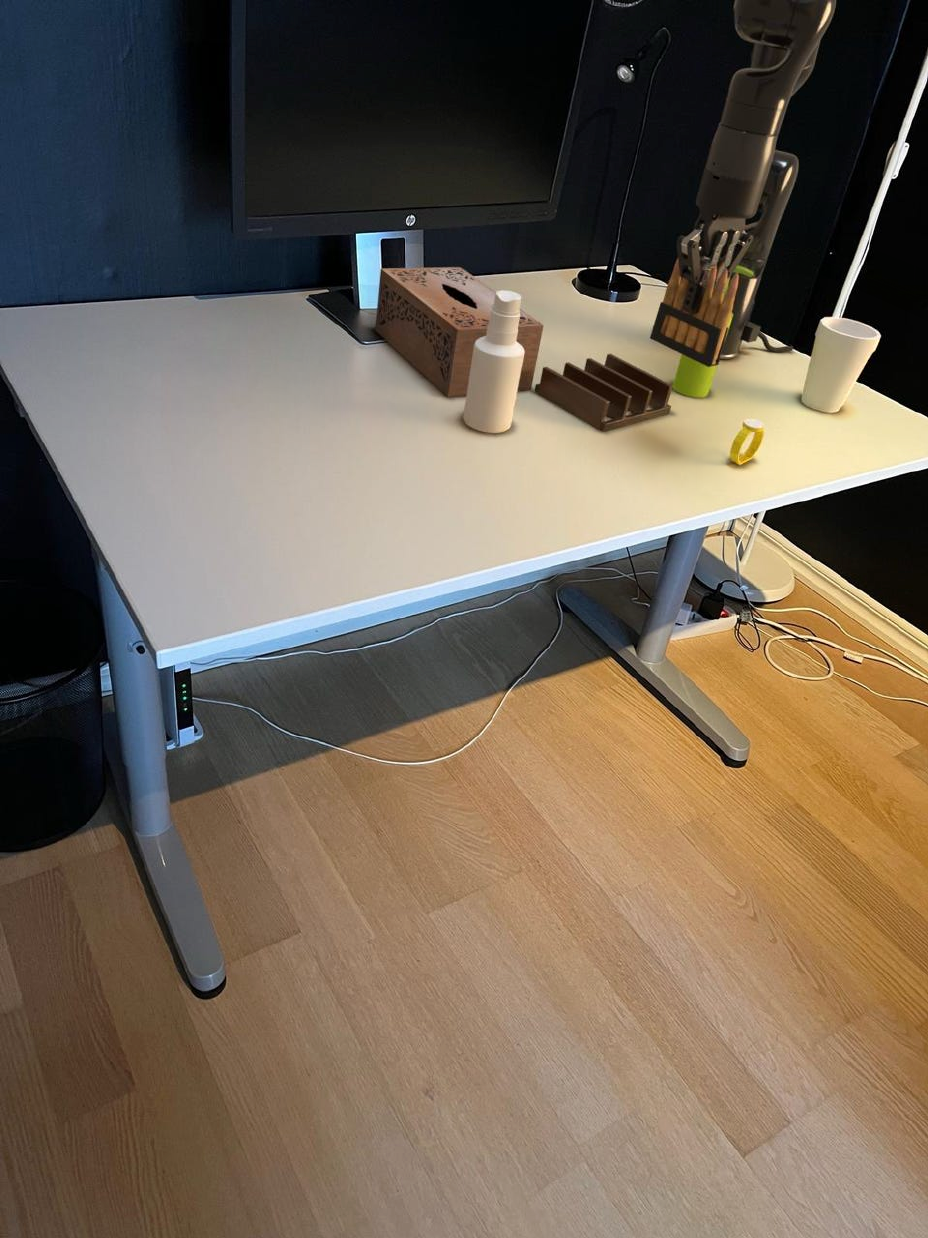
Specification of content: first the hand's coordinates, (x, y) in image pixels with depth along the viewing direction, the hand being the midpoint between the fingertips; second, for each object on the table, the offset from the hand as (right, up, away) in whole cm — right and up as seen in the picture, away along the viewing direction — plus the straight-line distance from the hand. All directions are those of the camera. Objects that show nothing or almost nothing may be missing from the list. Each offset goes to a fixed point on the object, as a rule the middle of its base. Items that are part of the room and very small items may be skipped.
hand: (695, 310), depth 123 cm
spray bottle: (-27, -13, +8) cm, 31 cm away
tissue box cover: (-33, 0, +25) cm, 41 cm away
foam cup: (+29, -5, +32) cm, 43 cm away
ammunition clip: (-1, -5, +3) cm, 6 cm away
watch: (+9, -18, +10) cm, 23 cm away
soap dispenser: (+7, -4, +29) cm, 30 cm away
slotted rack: (-9, -8, +19) cm, 23 cm away
